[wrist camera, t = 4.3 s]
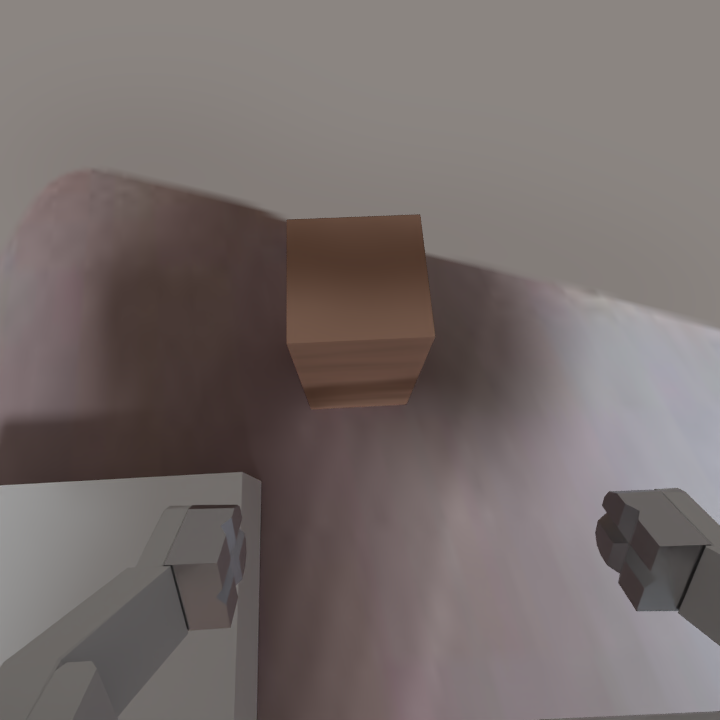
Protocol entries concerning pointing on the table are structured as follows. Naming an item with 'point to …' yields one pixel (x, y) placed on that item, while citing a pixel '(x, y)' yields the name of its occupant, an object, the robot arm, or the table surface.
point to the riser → (111, 557)
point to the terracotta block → (358, 308)
